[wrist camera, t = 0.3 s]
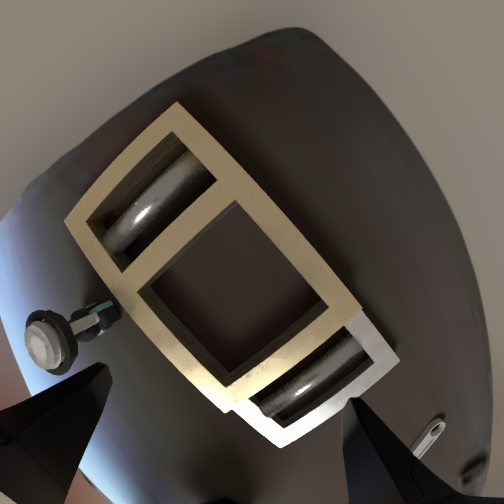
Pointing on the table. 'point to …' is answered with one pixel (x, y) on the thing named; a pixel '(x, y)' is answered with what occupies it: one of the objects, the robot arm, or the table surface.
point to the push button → (64, 334)
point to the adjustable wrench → (427, 438)
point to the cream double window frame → (182, 239)
